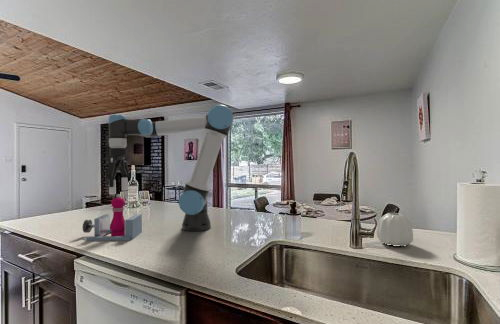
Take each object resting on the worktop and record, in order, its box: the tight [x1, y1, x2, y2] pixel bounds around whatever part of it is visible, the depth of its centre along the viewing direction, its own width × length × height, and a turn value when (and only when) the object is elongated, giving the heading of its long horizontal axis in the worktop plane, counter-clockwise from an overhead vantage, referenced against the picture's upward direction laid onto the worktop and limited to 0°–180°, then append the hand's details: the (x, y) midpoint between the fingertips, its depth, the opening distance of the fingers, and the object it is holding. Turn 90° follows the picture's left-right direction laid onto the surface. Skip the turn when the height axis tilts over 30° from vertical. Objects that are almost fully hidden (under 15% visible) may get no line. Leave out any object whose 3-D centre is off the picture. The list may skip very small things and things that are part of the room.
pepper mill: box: [110, 193, 126, 236], centre depth 131 cm, size 7×7×20 cm
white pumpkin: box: [376, 212, 414, 247], centre depth 119 cm, size 14×14×13 cm
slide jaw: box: [82, 214, 111, 237], centre depth 131 cm, size 9×10×9 cm
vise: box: [85, 213, 143, 242], centre depth 131 cm, size 20×15×9 cm
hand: (118, 192), depth 131 cm, fingers open, 13 cm apart
